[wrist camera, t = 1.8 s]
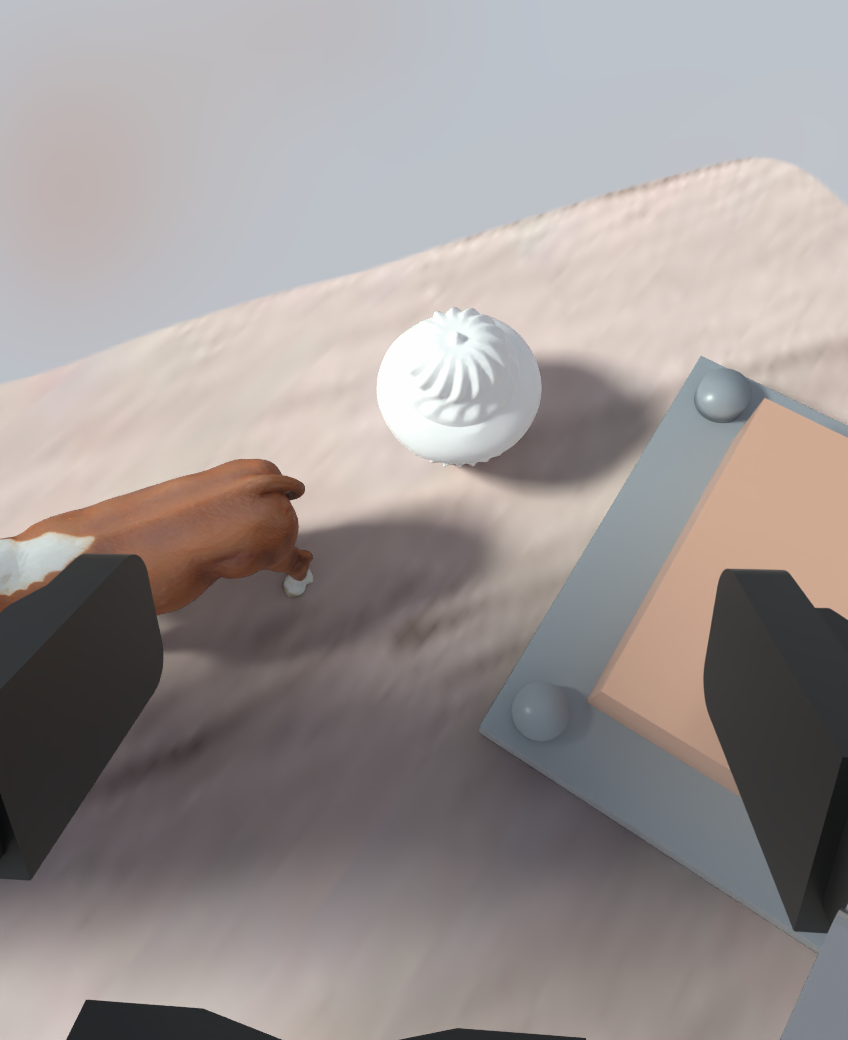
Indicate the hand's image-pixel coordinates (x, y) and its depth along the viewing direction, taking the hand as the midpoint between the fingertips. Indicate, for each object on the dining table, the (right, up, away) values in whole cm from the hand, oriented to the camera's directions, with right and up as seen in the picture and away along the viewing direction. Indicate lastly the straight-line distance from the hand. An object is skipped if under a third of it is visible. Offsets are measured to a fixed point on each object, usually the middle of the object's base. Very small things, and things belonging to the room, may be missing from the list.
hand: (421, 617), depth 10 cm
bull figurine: (-10, -2, +19) cm, 22 cm away
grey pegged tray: (+13, -4, +17) cm, 21 cm away
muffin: (+2, +5, +21) cm, 21 cm away
